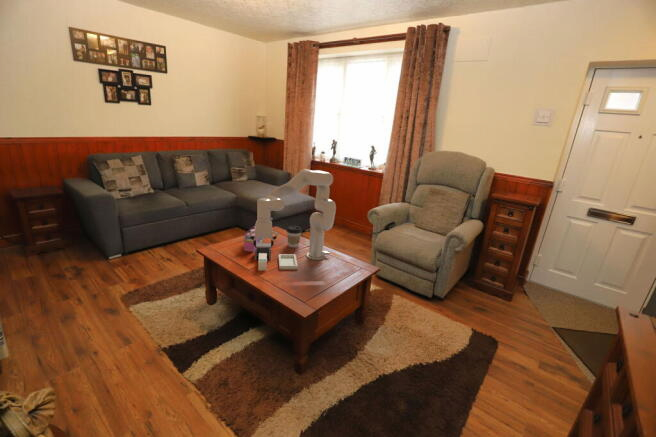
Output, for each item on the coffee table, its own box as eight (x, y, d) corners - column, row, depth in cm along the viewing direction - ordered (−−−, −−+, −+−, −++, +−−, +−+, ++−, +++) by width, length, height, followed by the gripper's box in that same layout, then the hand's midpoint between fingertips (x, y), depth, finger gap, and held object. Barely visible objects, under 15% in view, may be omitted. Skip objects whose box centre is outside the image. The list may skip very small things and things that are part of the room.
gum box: (254, 240, 240) (255, 224, 236) (264, 241, 239) (264, 225, 235) (243, 251, 218) (243, 234, 215) (254, 252, 218) (254, 235, 214)
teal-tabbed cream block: (266, 261, 205) (266, 252, 203) (266, 270, 193) (266, 261, 191) (258, 261, 204) (258, 252, 202) (258, 270, 192) (258, 261, 190)
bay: (270, 254, 216) (270, 243, 214) (270, 259, 208) (271, 247, 206) (255, 254, 214) (255, 243, 212) (254, 259, 206) (254, 247, 204)
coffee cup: (298, 250, 227) (299, 231, 223) (283, 248, 229) (284, 228, 225) (302, 245, 238) (304, 226, 234) (288, 243, 240) (289, 224, 236)
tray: (295, 257, 215) (295, 254, 214) (297, 269, 198) (297, 265, 197) (278, 257, 213) (278, 254, 212) (279, 269, 195) (279, 265, 195)
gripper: (278, 217, 190) (277, 244, 195) (248, 217, 186) (249, 244, 191) (278, 221, 183) (278, 248, 188) (248, 221, 179) (248, 248, 184)
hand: (263, 246), depth 189 cm, fingers open, 9 cm apart
